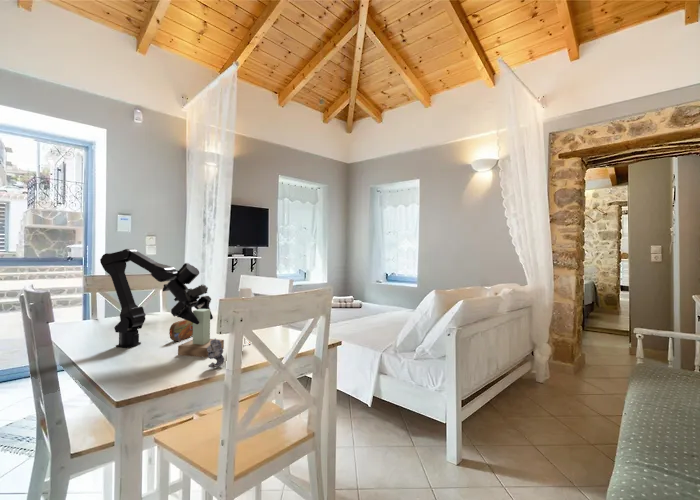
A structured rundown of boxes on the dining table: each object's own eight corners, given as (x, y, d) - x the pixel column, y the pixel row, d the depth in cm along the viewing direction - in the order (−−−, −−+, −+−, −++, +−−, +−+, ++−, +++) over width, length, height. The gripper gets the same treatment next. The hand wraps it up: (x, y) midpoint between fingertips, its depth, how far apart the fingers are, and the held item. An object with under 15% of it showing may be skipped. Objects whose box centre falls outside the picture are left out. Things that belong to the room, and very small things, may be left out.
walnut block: (177, 356, 131) (178, 345, 131) (196, 347, 143) (197, 337, 143) (206, 358, 129) (206, 348, 129) (223, 349, 141) (223, 339, 141)
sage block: (192, 343, 134) (193, 310, 133) (199, 340, 138) (200, 308, 138) (203, 344, 133) (203, 311, 133) (209, 341, 137) (210, 309, 137)
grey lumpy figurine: (213, 371, 115) (214, 341, 115) (203, 367, 118) (204, 338, 118) (227, 366, 119) (227, 338, 119) (217, 363, 122) (217, 335, 122)
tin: (174, 343, 146) (174, 323, 146) (167, 342, 147) (168, 323, 147) (196, 334, 161) (197, 316, 161) (190, 334, 161) (191, 316, 161)
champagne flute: (246, 346, 143) (247, 289, 143) (232, 344, 146) (233, 288, 145) (255, 342, 150) (256, 287, 150) (242, 341, 152) (243, 286, 152)
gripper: (178, 280, 127) (205, 311, 125) (207, 276, 145) (231, 303, 144) (159, 300, 128) (185, 331, 127) (190, 294, 147) (213, 321, 145)
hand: (205, 321), depth 135 cm, fingers open, 9 cm apart
